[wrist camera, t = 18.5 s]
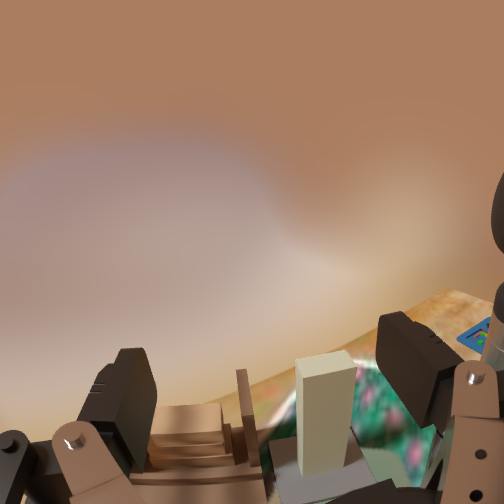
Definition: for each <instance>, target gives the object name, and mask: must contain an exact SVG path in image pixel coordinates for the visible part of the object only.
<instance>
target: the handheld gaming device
mask: <svg viewBox="0 0 504 504" xmlns="http://www.w3.org/2000/svg"><path fill="white" fill-rule="evenodd" d="M490 320H491V317H488V318H486V319H485V320H483V321H482V322H480V323H479V324H477V325H475V326H474V327H472V328H471V329H469V330H468V331H466V332H464V333H463V334H461V335H460V336H458V337H457V341H458V342H460V343H462V344H464V345H466V346H467V347H469V348H471V349H473V350H474V351H476V352H478V353H480V354H481V355H482V352H483V349H484V345H485V341H486V337H487V333H488V329H489V325H490Z"/></svg>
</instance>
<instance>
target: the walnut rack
mask: <svg viewBox="0 0 504 504" xmlns="http://www.w3.org/2000/svg"><path fill="white" fill-rule="evenodd" d="M236 373H237V382H238V391H239V400H240V408H241V416H242V422H243V427H236V428H231V430H232V437H233V448H234V459H235V466H226V467H213V468H197V469H154V467H153V466H152V464H151V462H150V460H149V457H150V455H149V453H148V451H147V453H146V459H145V465H144V470H143V474H135V473H130V478H129V481H130V483H131V484H132V485H133V487H134V488H135V490H136V491H137V492H138V494H139V495H140V496H141V498H142V499H143V500H144V502H145V503H146V504H268V503H267V499H266V493H265V487H264V482H263V475H262V469H261V463H260V456H259V449H258V442H257V435H256V427H255V420H254V413H253V407H252V401H251V395H250V389H249V383H248V376H247V371H246V369H241V370H236Z"/></svg>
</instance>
